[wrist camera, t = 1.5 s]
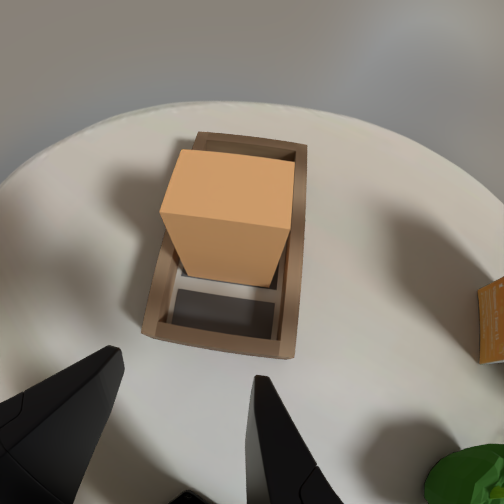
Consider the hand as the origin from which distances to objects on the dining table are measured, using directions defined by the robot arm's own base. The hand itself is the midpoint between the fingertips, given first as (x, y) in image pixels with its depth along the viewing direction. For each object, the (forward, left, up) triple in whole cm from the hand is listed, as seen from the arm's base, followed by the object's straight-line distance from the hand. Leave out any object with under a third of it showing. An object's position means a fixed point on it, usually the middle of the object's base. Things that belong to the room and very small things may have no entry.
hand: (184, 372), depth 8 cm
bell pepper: (+4, -24, -13) cm, 28 cm away
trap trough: (+9, +7, -13) cm, 17 cm away
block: (+7, +5, -11) cm, 14 cm away
